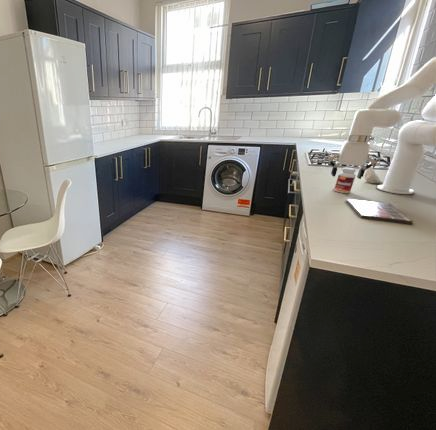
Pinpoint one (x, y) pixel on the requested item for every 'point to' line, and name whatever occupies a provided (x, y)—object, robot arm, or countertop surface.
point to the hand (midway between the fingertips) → (345, 177)
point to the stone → (372, 176)
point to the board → (378, 211)
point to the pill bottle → (345, 180)
